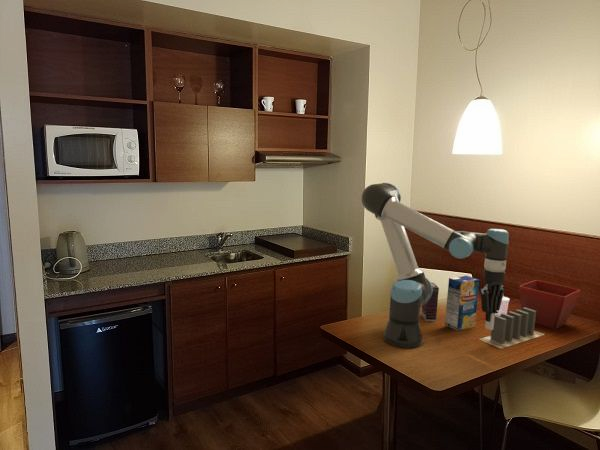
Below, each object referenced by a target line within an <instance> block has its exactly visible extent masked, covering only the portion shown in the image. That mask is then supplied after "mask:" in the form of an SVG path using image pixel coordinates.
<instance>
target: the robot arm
mask: <svg viewBox="0 0 600 450" xmlns="http://www.w3.org/2000/svg"><path fill="white" fill-rule="evenodd" d="M360 198H361V203H362V205H363V208H365V210H367V212H370V213H371V214H373V215H374V217H375V219H377V220H378V221H380V223H381V225H382V228H383V232H384V235H385V238H386V242H387V244H388V247H389V249H390V250H389V251H390V254H391V256H392V259H393V262H394V264H395V267H396V270H397V273H398V274H397V277H396V281H395V282H393V283H392V284H391V288H390V297H389V298H390V299H389V300H390V301H389V315H388V322H387V324H386V325H385V326H386V327H385V330H384V331H383V337H382V338H383V341H384V342H385V343H387V344H389V345H391V346H393V347H396V348H402V349H403V348H404V349H412V348H413V349H414V348H418V347H420V346H422V345H423V334H422V332H421V327H420V315H421V313H420V312H421V309H422V306H423V305H424V304H425V303H427V302H428V301H429V299H430V298H431V296H432V292H433V288H432V285H431V283H430V282H431V281H430V280H429V278H427V277H426V275H425V271H424V270H422V269H420V268H419V266H418V263H417V260H416V256H415V254H414V252H413V248H412V246H411V243H410V240H409V237H408V234H407V231H406V229H407V230H409V231H410V232H412V233H414V234H416V235H418V236H420V237H421V238H424V239H426V240H427V241H429V242H431V243H433V244H436V245H437V246H438V247H441V248H443V249H444V250H446V251H448V252H449V253H450V255H451V256H452V257H454V258H456V259H465V258H467V257H469V256H471V255H472V253H480V254H485V255H484V265H483V268H484V269H483V275H482V278H483V280H485V282H484V285H483V286H484V287H483V288H480V287H479V293H480V300H481V312H484V313H485V319H484V320H485V321H484V322H485V323H484V324H485V325H484V328H485V329H486V330H489V331H491V330H493V328H494V319H495V313H498V312H497V310H498V311H499V310H500V306H501V302H502V297H504V294H505V291H506V289H507V286H505V285H503V282H504V281H505V279H506V271H505V270H506V269H507V268H506V267H507V260H508V259H507V258H508V249H509V239H510V238H509V236H510V233H509V232H508V230H505V229H503V228H502V229H501V228H489V229H487V232H485V233H481V232H472V231H466V230H463V231H462V230H457V231H456V230H454V229H453V228H449V227H448V226H446V225H444V224H442V223H440V222H438V221H436V220H434V219H432V218H431V217H428V216H426V215H424V214H422V213H420V212H419V211H417V210H415V209H413V208H410V207H409V206H407V205H405V204H403V203H401V199H402V194H401V192H400V190H399V188H398V187H397V186H396V185H394V184H392V183H388V182H382V183H373V184H369V185H368V186H367V187H365V188H364V190H363V191H362V194H361V197H360ZM503 293H504V294H503Z"/></svg>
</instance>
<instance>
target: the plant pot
mask: <svg viewBox="0 0 600 450" xmlns="http://www.w3.org/2000/svg"><path fill="white" fill-rule="evenodd" d="M580 293H581V290H580V289H578V288H574V287H570V286H565V285H562V284H556V283H553V282H548V281H545V280H539V279H535V280H532V281H529V282H527V283H523V284H521V285H519V299H520V306H521V311H522V310H523V308H524V307H525V308H528V309H532V310H535V311H536V318H535V324H537V325H540V326H544V327H547V328H550V329H554V330H557V329H558V328H561V327H563V326H565V324H566V323H567V322H568V319H569V318H570V316H571V314H572V313H573V310H574V308H575V307H576V303H577V300H578V298H579V297H580V296H579V295H580Z"/></svg>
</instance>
